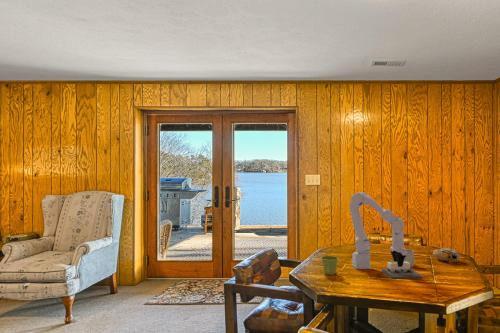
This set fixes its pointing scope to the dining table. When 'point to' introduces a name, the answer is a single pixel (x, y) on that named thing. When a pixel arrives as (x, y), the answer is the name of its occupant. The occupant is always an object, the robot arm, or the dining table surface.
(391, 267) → the power strip
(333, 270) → the plant pot
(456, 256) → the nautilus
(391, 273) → the keyhole plate
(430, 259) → the dining table surface
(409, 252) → the cup
